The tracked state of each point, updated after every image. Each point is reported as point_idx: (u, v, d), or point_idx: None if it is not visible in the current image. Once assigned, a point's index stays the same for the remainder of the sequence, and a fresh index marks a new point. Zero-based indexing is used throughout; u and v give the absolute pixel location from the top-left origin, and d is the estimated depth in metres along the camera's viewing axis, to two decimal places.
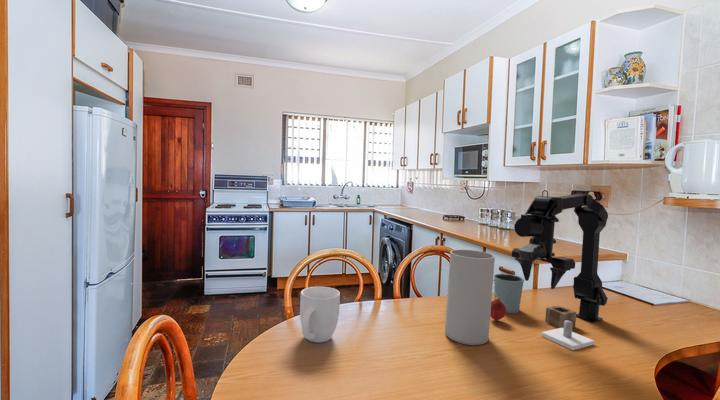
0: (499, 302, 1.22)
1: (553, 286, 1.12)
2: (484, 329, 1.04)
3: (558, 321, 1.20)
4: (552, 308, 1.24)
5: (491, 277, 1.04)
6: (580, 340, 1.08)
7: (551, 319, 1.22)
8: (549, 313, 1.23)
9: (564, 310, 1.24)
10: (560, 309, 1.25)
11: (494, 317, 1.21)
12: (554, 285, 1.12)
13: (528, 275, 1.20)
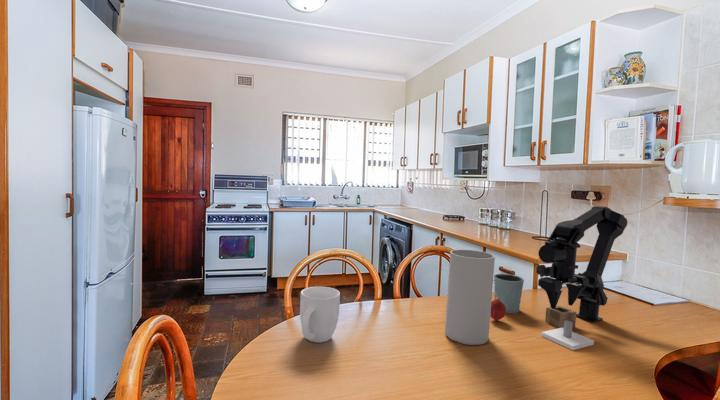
0: (499, 302, 1.22)
1: (551, 305, 1.21)
2: (484, 329, 1.04)
3: (558, 321, 1.20)
4: None
5: (491, 277, 1.04)
6: (580, 340, 1.08)
7: (551, 319, 1.22)
8: (549, 313, 1.23)
9: (564, 310, 1.24)
10: (560, 309, 1.25)
11: (494, 317, 1.21)
12: (552, 305, 1.20)
13: (571, 300, 1.24)
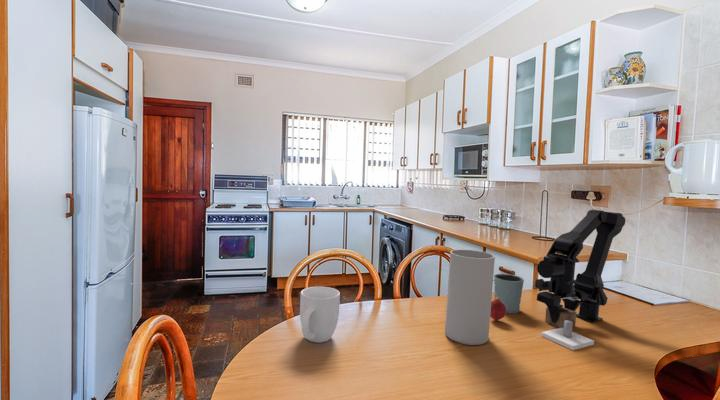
0: (499, 302, 1.22)
1: (552, 319, 1.21)
2: (484, 329, 1.04)
3: (558, 321, 1.20)
4: None
5: (491, 277, 1.04)
6: (580, 340, 1.08)
7: None
8: (549, 313, 1.23)
9: (564, 310, 1.24)
10: None
11: (494, 317, 1.21)
12: (553, 319, 1.21)
13: None
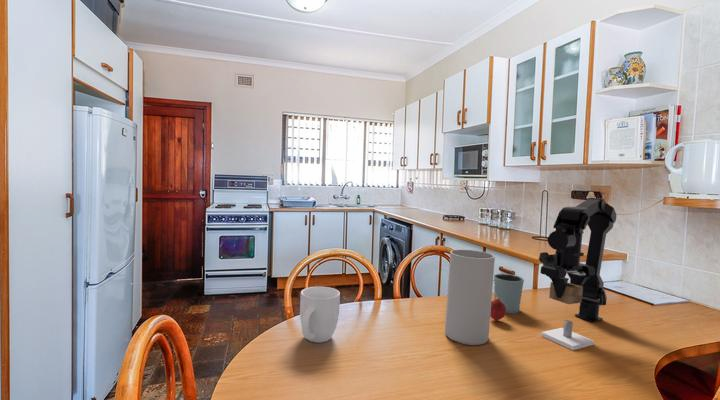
0: (499, 302, 1.22)
1: (557, 294, 1.14)
2: (484, 329, 1.04)
3: (564, 296, 1.12)
4: None
5: (491, 277, 1.04)
6: (580, 340, 1.08)
7: None
8: None
9: (570, 285, 1.16)
10: None
11: (494, 317, 1.21)
12: (558, 294, 1.13)
13: None
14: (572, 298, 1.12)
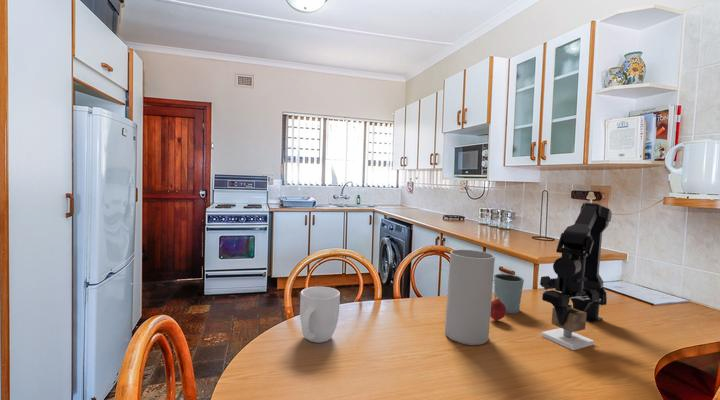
0: (499, 302, 1.22)
1: (559, 321, 1.09)
2: (484, 329, 1.04)
3: (567, 323, 1.07)
4: None
5: (491, 277, 1.04)
6: (580, 340, 1.08)
7: (558, 321, 1.10)
8: (556, 314, 1.10)
9: (573, 311, 1.11)
10: None
11: (494, 317, 1.21)
12: (561, 321, 1.08)
13: None
14: (575, 326, 1.07)
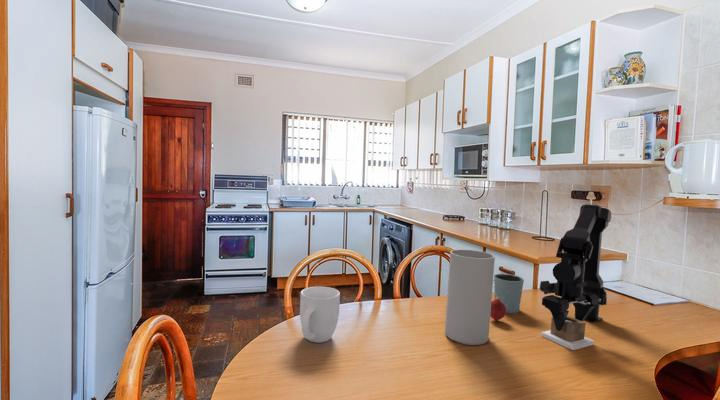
0: (499, 302, 1.22)
1: (556, 327, 1.08)
2: (484, 329, 1.04)
3: (566, 333, 1.07)
4: None
5: (491, 277, 1.04)
6: (580, 340, 1.08)
7: (557, 330, 1.10)
8: None
9: (572, 320, 1.11)
10: (567, 319, 1.12)
11: (494, 317, 1.21)
12: (558, 327, 1.08)
13: None
14: (574, 336, 1.07)
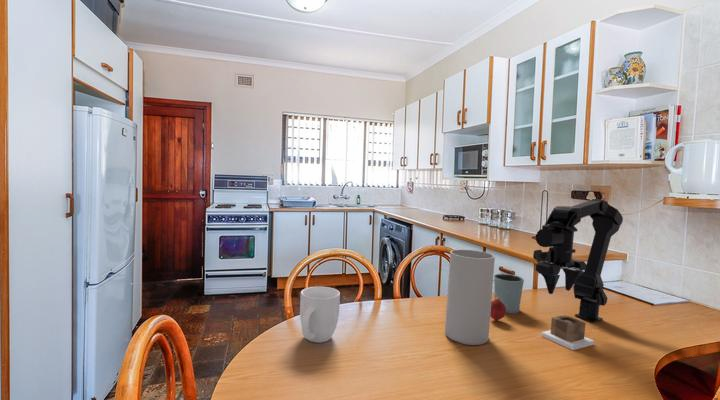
0: (499, 302, 1.22)
1: (549, 290, 1.19)
2: (484, 329, 1.04)
3: (566, 333, 1.07)
4: (558, 318, 1.11)
5: (491, 277, 1.04)
6: (580, 340, 1.08)
7: (557, 330, 1.10)
8: (555, 323, 1.10)
9: (572, 320, 1.11)
10: (567, 319, 1.12)
11: (494, 317, 1.21)
12: (550, 290, 1.18)
13: (568, 285, 1.22)
14: (574, 336, 1.07)
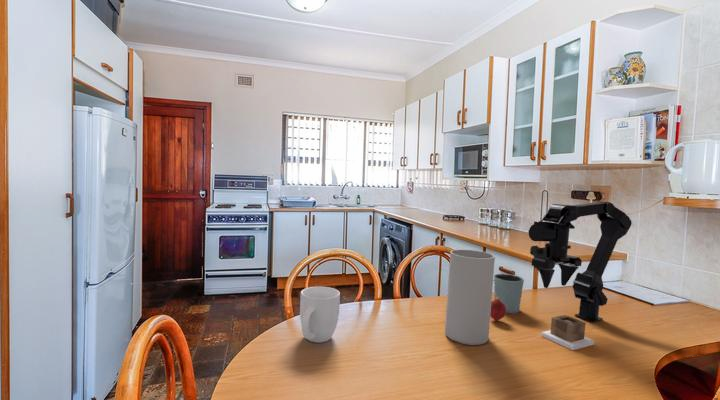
0: (499, 302, 1.22)
1: (544, 285, 1.23)
2: (484, 329, 1.04)
3: (566, 333, 1.07)
4: (558, 318, 1.11)
5: (491, 277, 1.04)
6: (580, 340, 1.08)
7: (557, 330, 1.10)
8: (555, 323, 1.10)
9: (572, 320, 1.11)
10: (567, 319, 1.12)
11: (494, 317, 1.21)
12: (545, 285, 1.22)
13: (564, 280, 1.27)
14: (574, 336, 1.07)
